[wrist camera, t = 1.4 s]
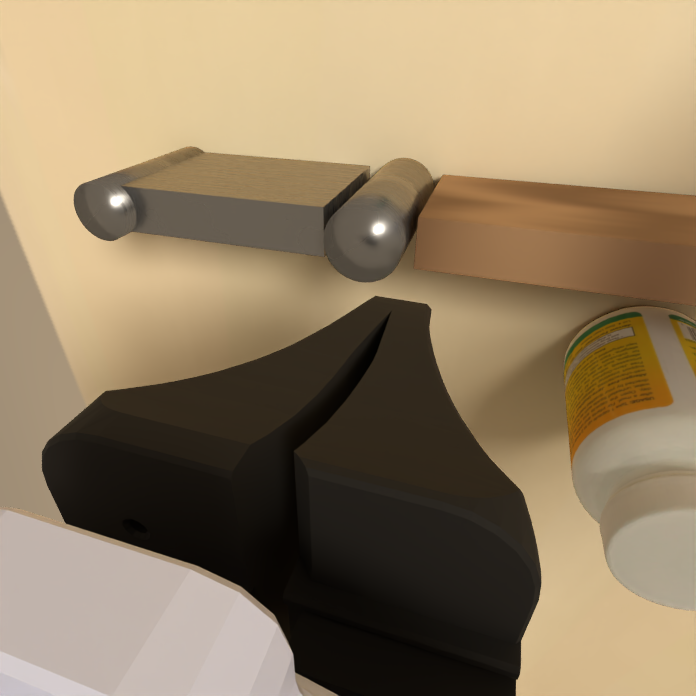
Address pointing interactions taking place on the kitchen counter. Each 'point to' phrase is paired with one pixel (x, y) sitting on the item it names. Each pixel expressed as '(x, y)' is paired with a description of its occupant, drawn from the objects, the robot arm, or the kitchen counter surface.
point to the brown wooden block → (562, 237)
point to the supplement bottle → (638, 446)
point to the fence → (266, 206)
